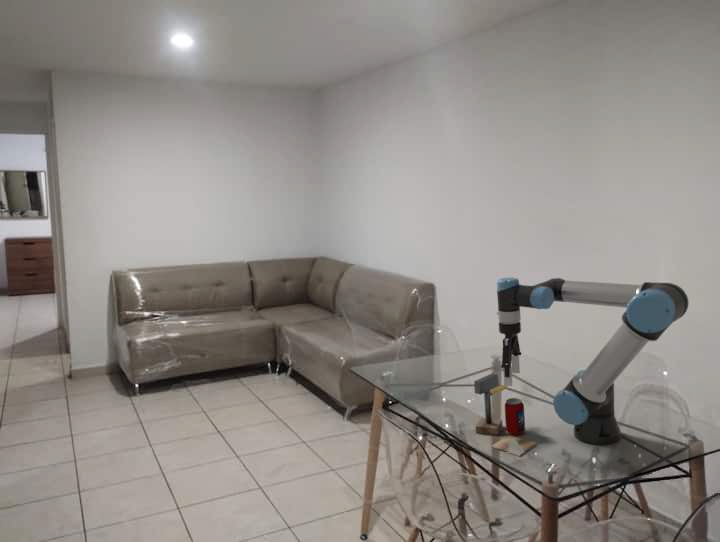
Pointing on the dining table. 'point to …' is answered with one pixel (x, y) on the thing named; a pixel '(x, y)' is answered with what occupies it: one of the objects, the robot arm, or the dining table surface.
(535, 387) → the dining table surface
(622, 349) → the robot arm
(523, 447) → the mat
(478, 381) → the t key
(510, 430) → the beverage can
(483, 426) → the latch housing
